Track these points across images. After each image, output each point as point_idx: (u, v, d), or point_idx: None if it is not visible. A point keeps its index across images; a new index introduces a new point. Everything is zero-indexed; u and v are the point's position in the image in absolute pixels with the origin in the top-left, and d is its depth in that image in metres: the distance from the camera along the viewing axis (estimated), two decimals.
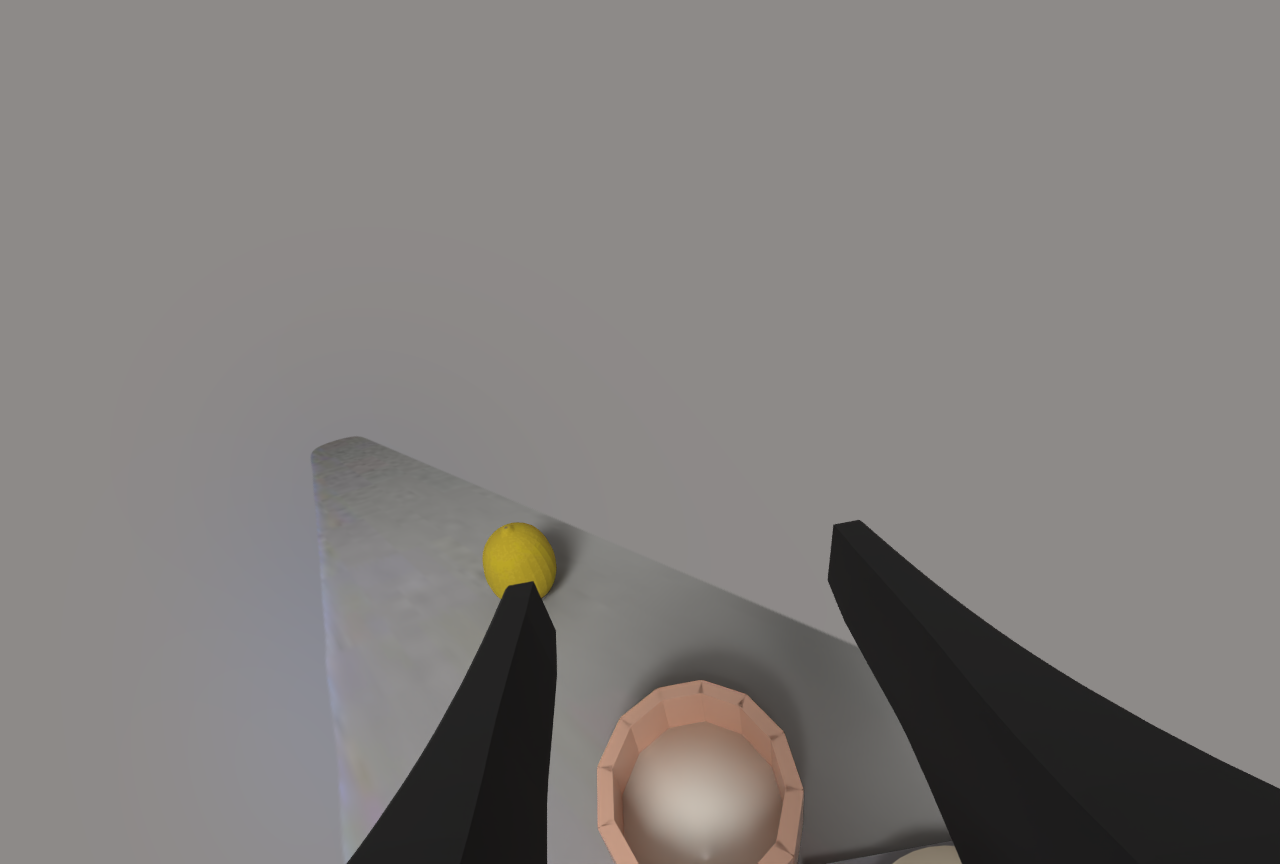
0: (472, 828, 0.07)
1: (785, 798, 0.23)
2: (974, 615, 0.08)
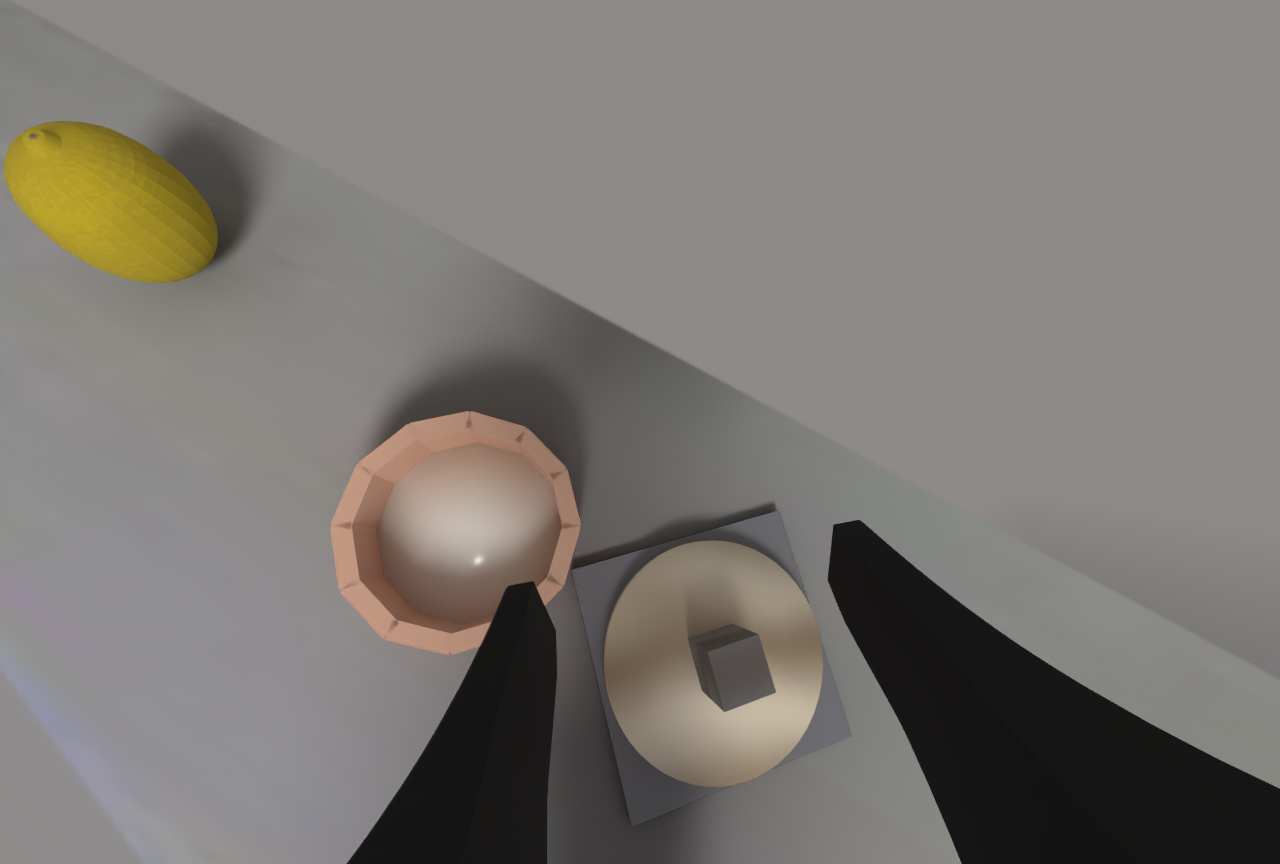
0: (472, 828, 0.07)
1: (561, 535, 0.21)
2: (974, 615, 0.08)
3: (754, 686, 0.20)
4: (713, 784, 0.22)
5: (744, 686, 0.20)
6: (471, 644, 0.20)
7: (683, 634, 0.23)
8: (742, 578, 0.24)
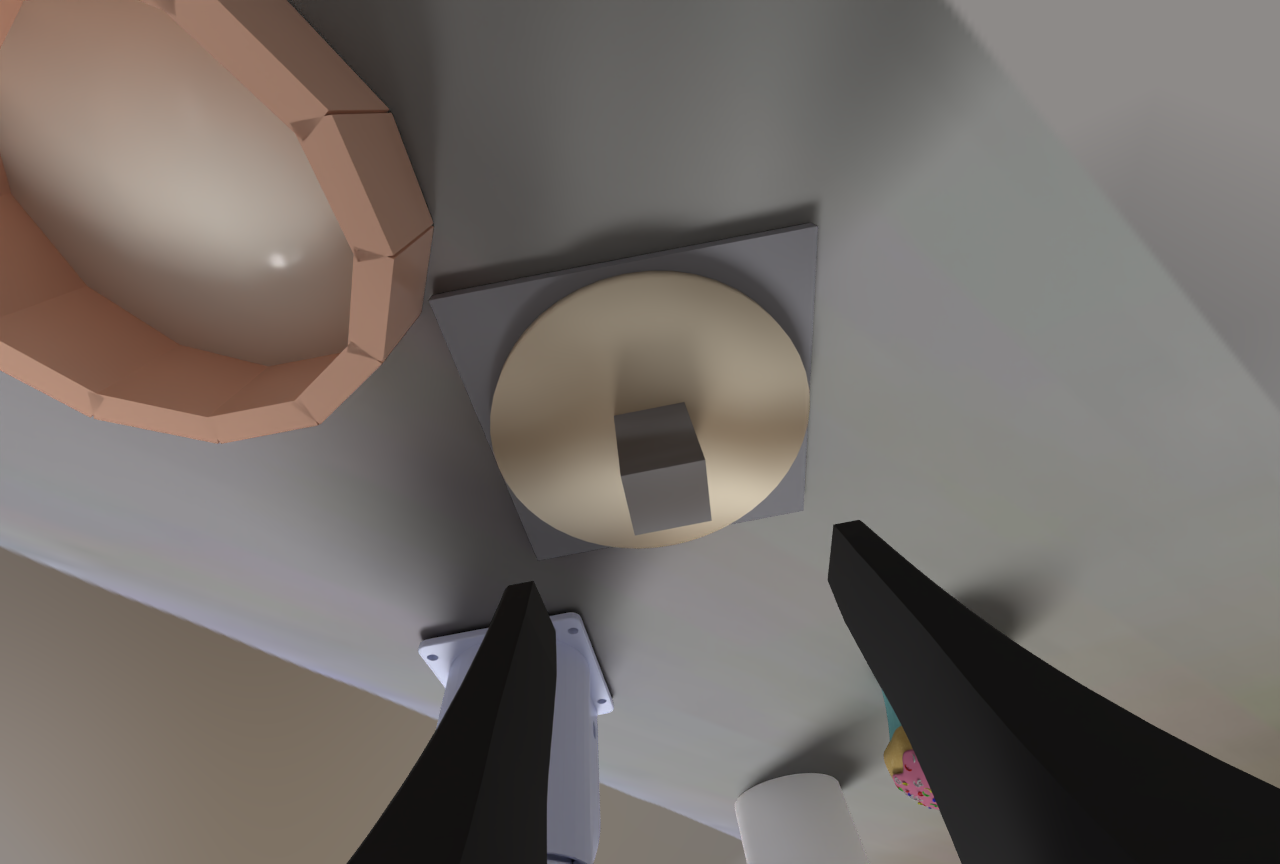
0: (472, 828, 0.07)
1: (355, 274, 0.11)
2: (974, 615, 0.08)
3: (682, 513, 0.14)
4: (627, 546, 0.20)
5: (668, 513, 0.14)
6: (248, 433, 0.13)
7: (608, 410, 0.16)
8: (714, 343, 0.15)
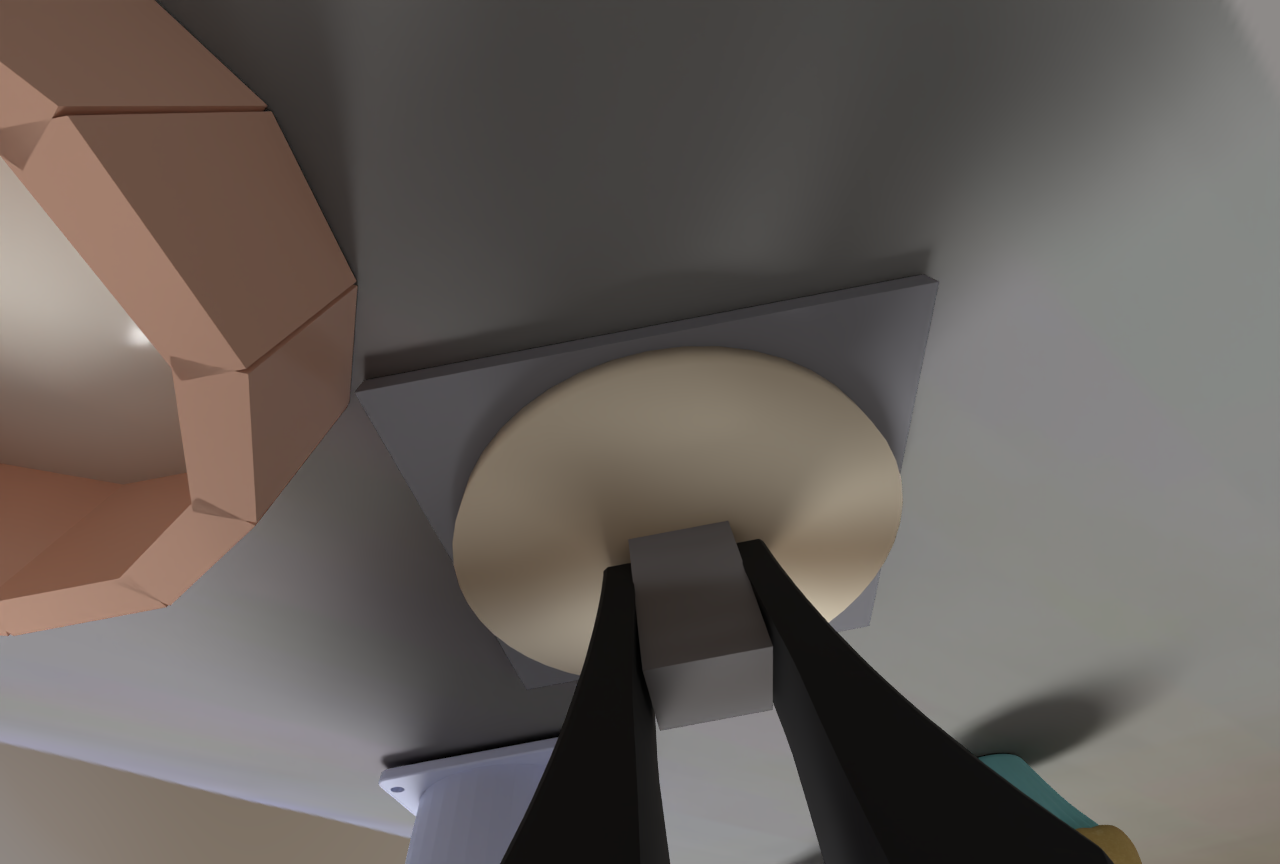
0: (637, 797, 0.07)
1: (182, 399, 0.06)
2: (840, 640, 0.08)
3: (731, 705, 0.10)
4: None
5: (710, 705, 0.10)
6: (54, 621, 0.08)
7: (621, 533, 0.11)
8: (776, 448, 0.10)
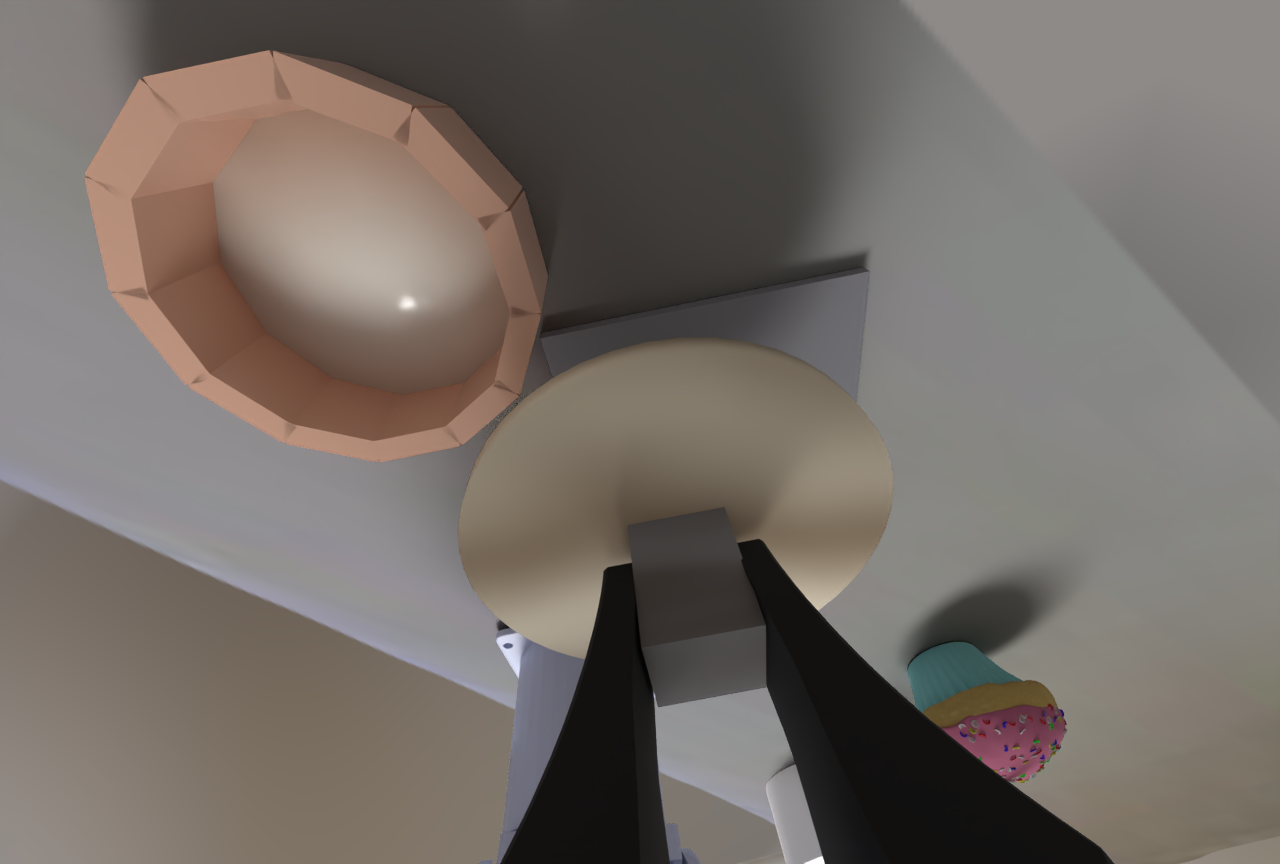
0: (637, 797, 0.07)
1: (509, 327, 0.13)
2: (840, 640, 0.08)
3: (726, 682, 0.10)
4: None
5: (706, 682, 0.10)
6: (404, 453, 0.15)
7: (620, 519, 0.12)
8: (771, 437, 0.11)
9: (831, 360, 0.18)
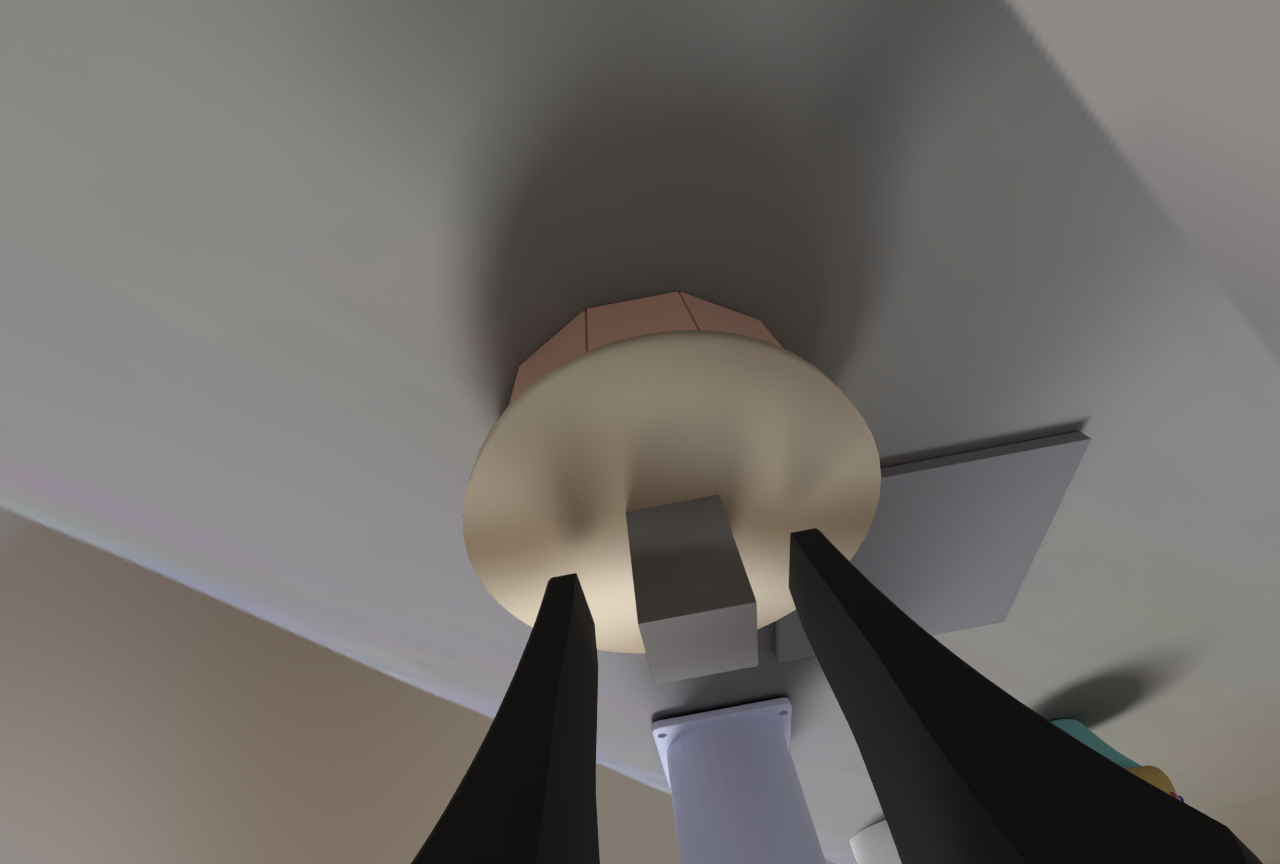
0: (544, 815, 0.07)
1: None
2: (916, 626, 0.08)
3: (720, 660, 0.11)
4: (639, 651, 0.16)
5: (701, 660, 0.11)
6: None
7: (618, 506, 0.12)
8: (762, 425, 0.11)
9: (1033, 506, 0.20)
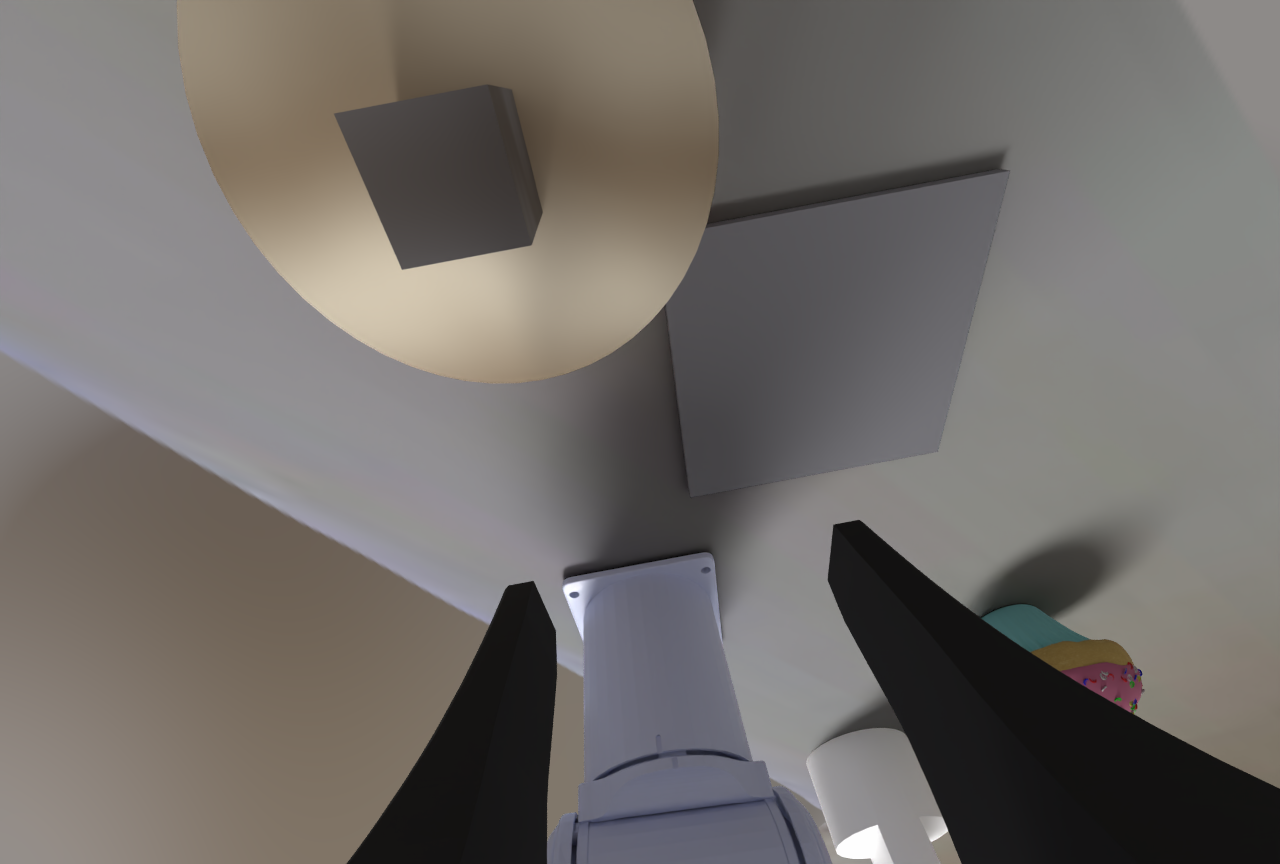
0: (472, 828, 0.07)
1: None
2: (974, 615, 0.08)
3: (475, 224, 0.08)
4: (474, 378, 0.14)
5: (449, 220, 0.08)
6: None
7: (387, 97, 0.10)
8: None
9: (953, 275, 0.17)
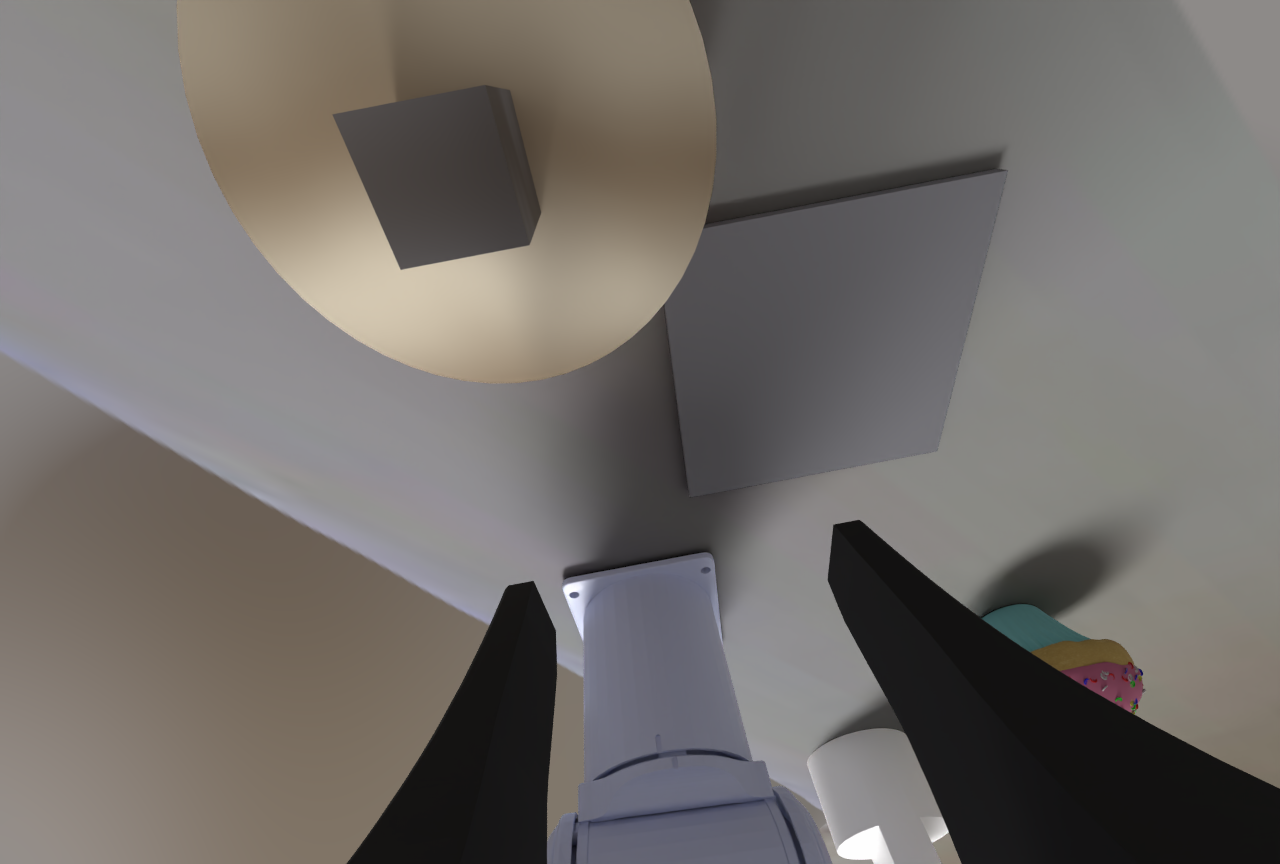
0: (472, 828, 0.07)
1: None
2: (974, 615, 0.08)
3: (474, 224, 0.08)
4: (473, 378, 0.14)
5: (447, 220, 0.08)
6: None
7: (386, 99, 0.10)
8: None
9: (951, 274, 0.17)
